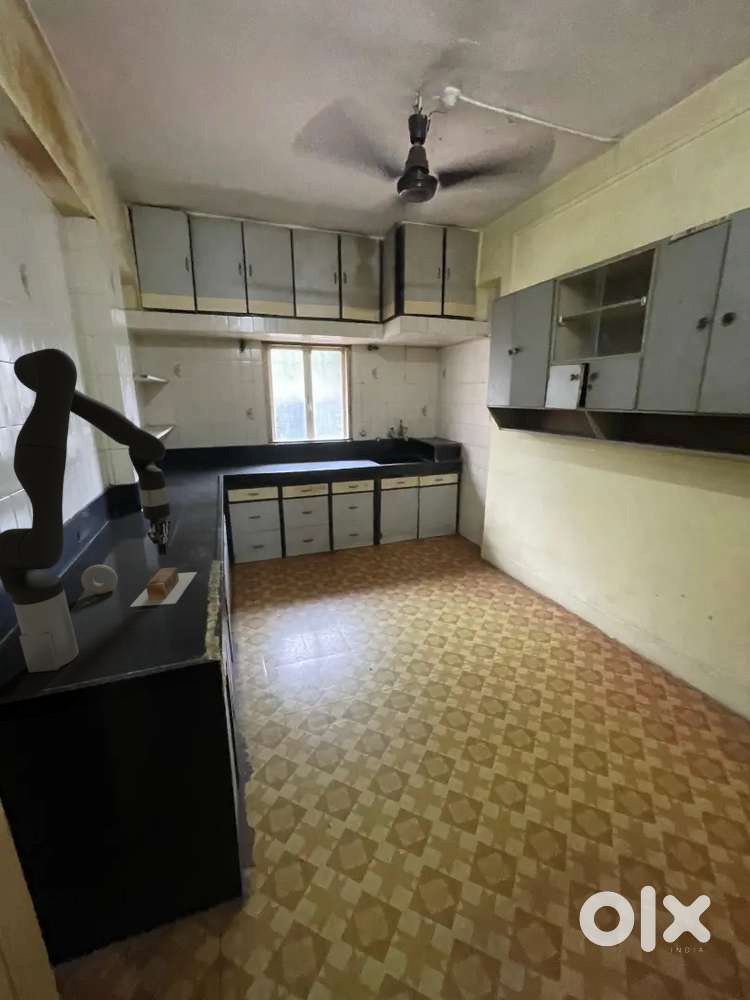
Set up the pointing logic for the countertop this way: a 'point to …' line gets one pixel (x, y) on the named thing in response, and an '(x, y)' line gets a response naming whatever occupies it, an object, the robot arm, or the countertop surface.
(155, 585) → the walnut block
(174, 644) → the countertop surface
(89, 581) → the donut
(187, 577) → the grey mat
